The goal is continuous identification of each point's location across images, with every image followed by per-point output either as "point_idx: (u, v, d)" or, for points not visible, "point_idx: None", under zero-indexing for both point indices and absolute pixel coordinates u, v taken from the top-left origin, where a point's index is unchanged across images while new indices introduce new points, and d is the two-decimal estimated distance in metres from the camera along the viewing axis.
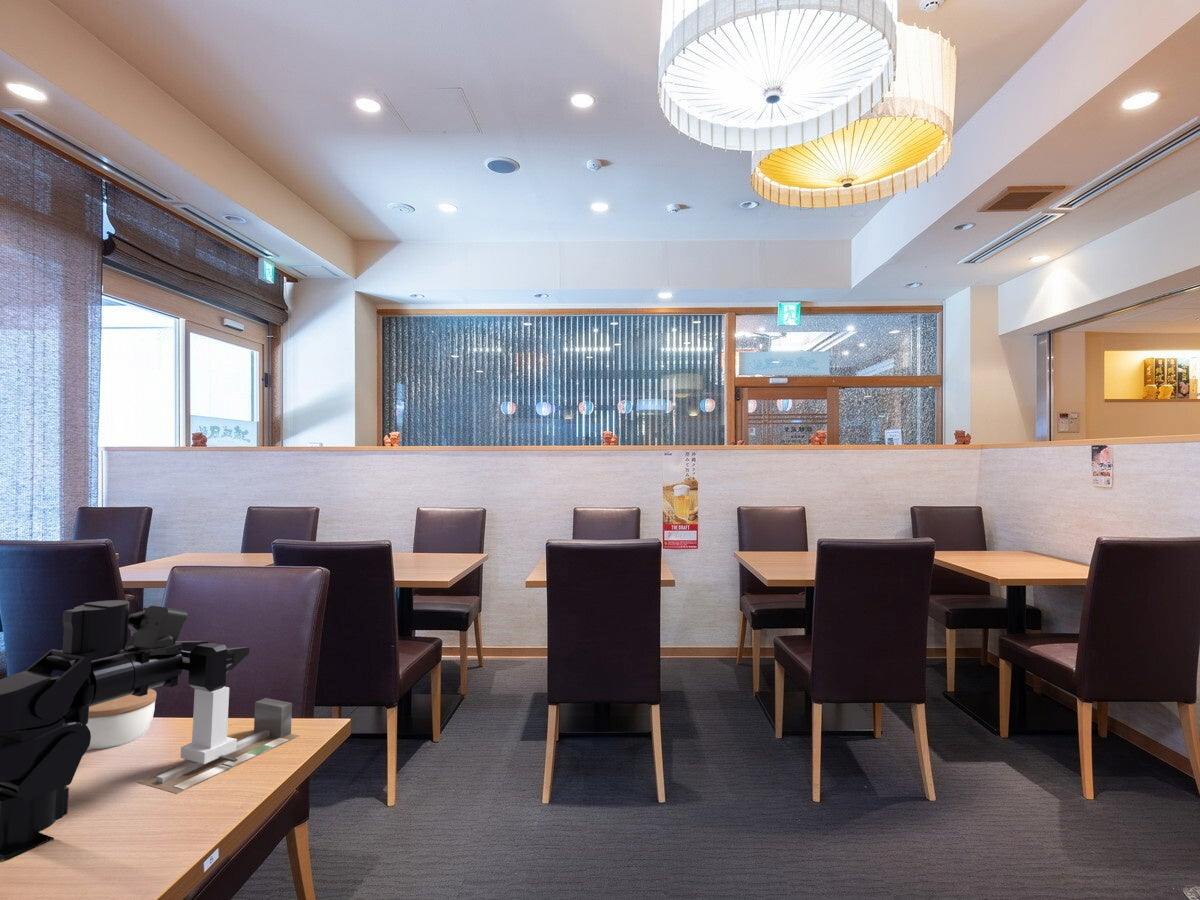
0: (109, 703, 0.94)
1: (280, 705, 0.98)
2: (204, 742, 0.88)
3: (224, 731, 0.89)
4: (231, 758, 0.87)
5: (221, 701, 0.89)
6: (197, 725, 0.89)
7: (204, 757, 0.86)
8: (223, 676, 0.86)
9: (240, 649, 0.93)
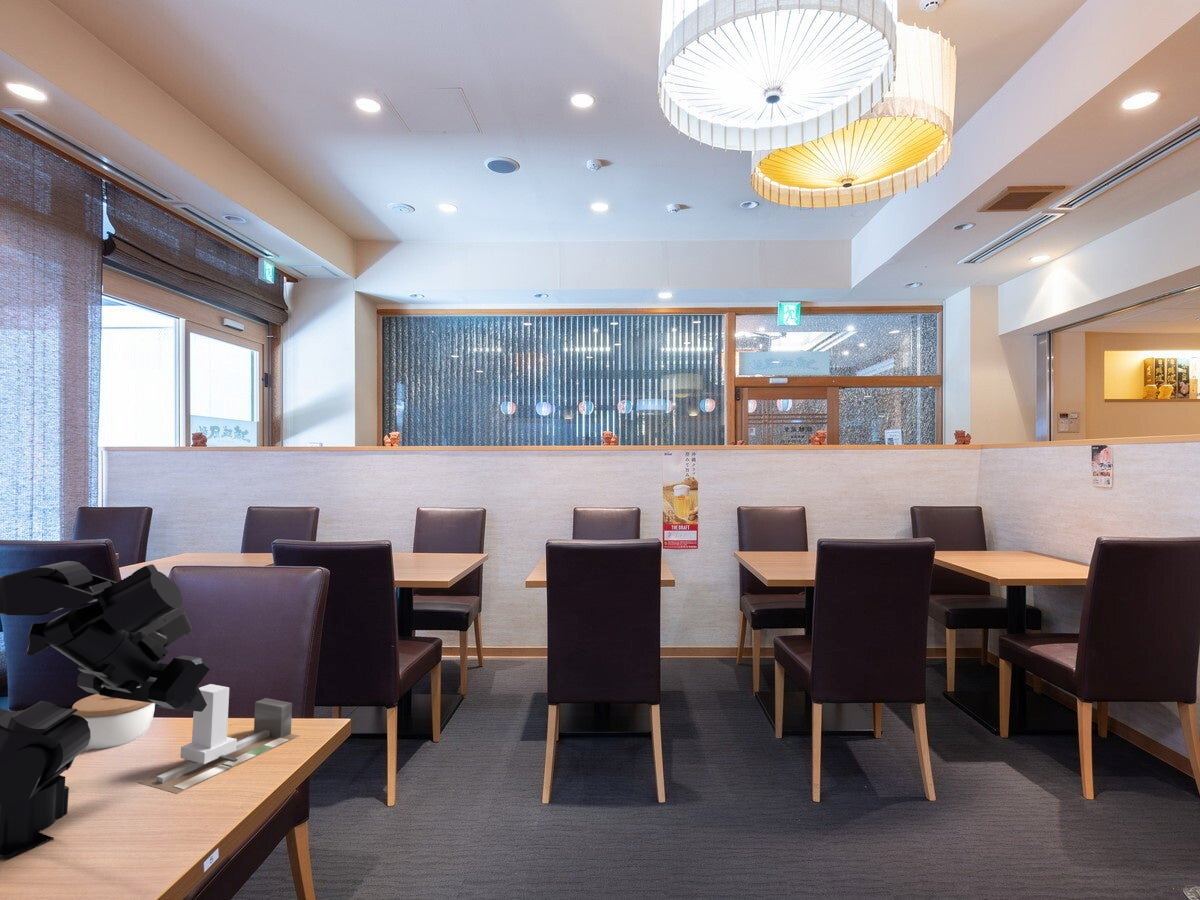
0: (109, 703, 0.94)
1: (280, 705, 0.98)
2: (204, 742, 0.88)
3: (224, 731, 0.89)
4: (231, 758, 0.87)
5: (221, 701, 0.89)
6: (197, 725, 0.89)
7: (204, 757, 0.86)
8: (187, 694, 0.77)
9: (201, 696, 0.84)
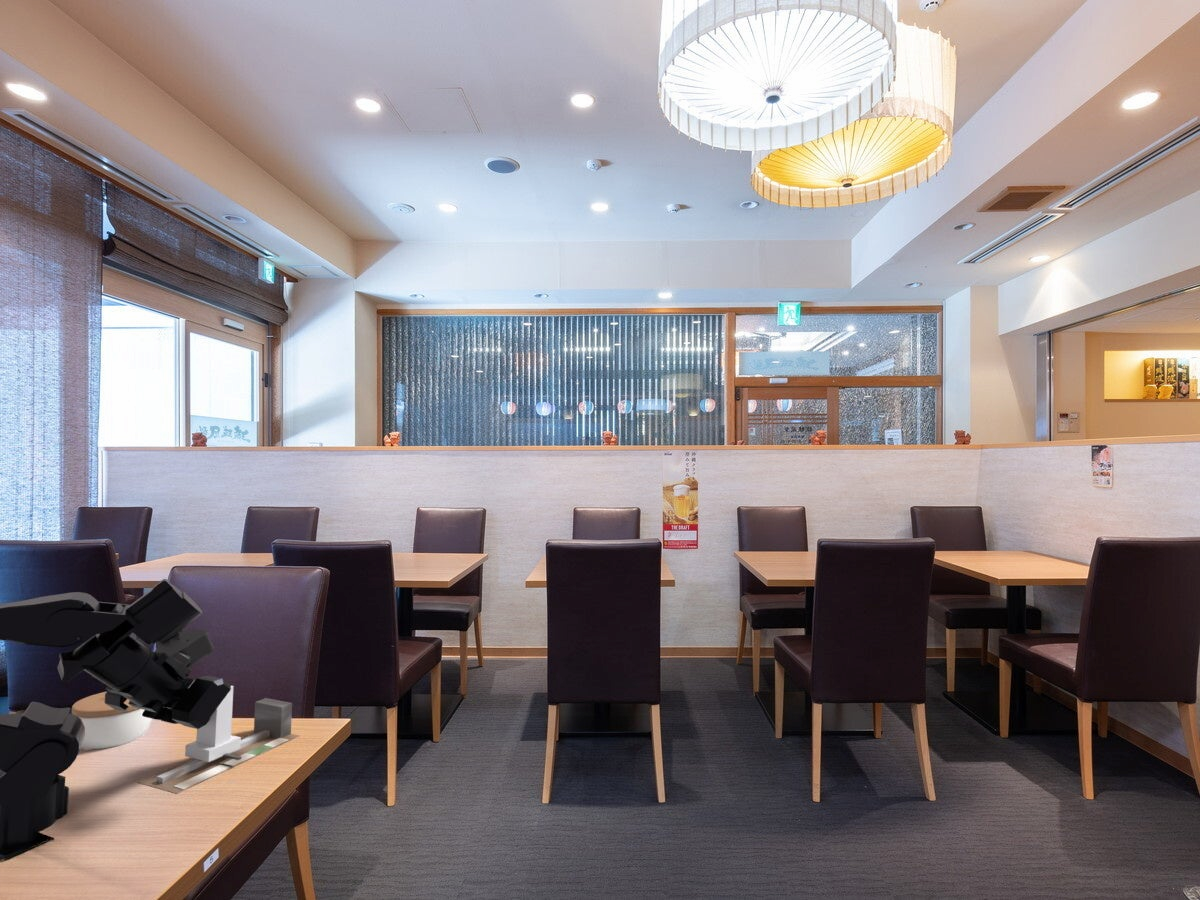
0: None
1: (280, 705, 0.98)
2: (208, 740, 0.88)
3: (228, 729, 0.90)
4: (235, 756, 0.88)
5: (226, 700, 0.90)
6: None
7: (208, 755, 0.87)
8: (209, 715, 0.79)
9: None
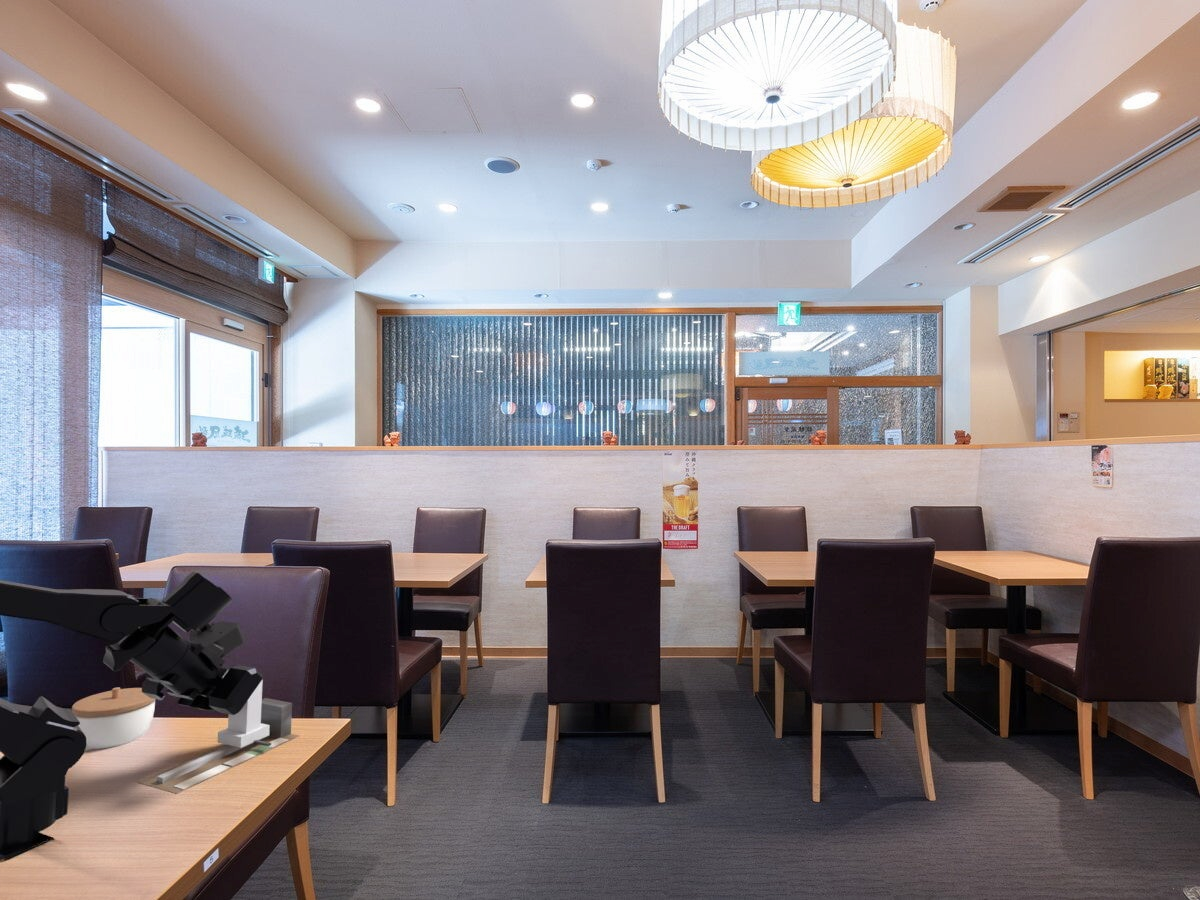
0: (109, 703, 0.94)
1: (280, 705, 0.98)
2: (240, 727, 0.93)
3: (258, 717, 0.95)
4: (265, 742, 0.93)
5: (256, 689, 0.94)
6: None
7: (240, 741, 0.91)
8: (243, 702, 0.84)
9: None
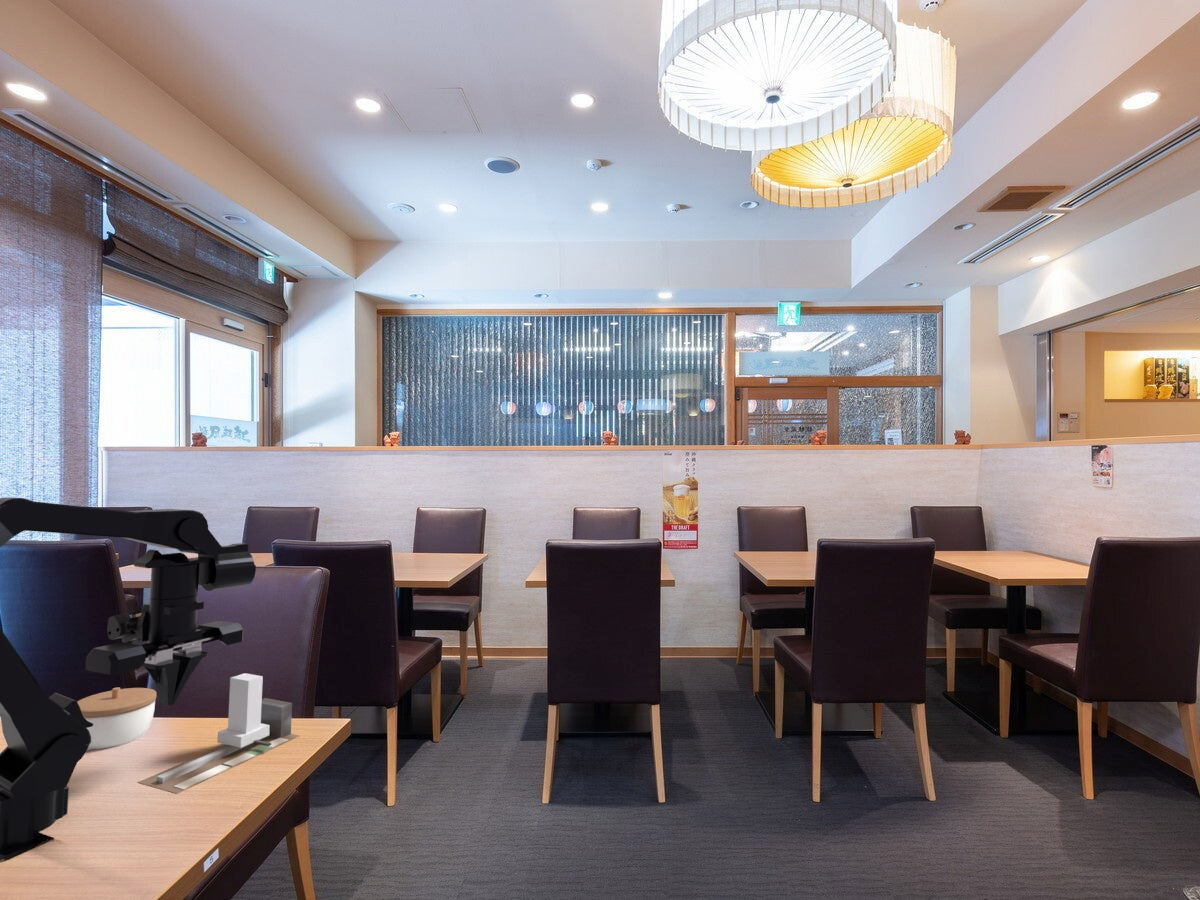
0: (109, 703, 0.94)
1: (280, 705, 0.98)
2: (240, 727, 0.93)
3: (258, 717, 0.95)
4: (265, 742, 0.93)
5: (256, 689, 0.94)
6: (233, 711, 0.94)
7: (240, 741, 0.91)
8: None
9: None
